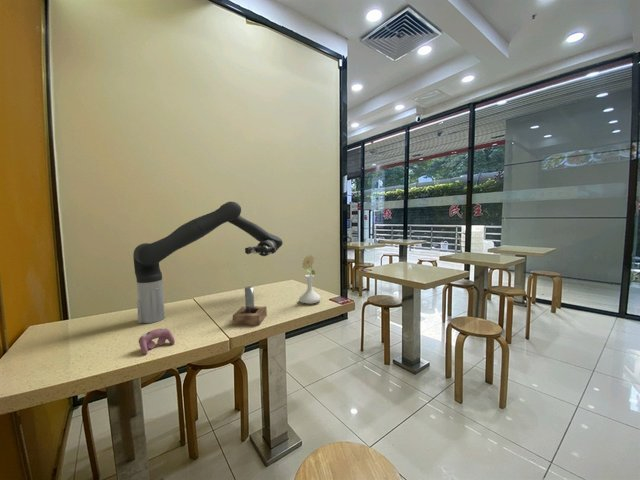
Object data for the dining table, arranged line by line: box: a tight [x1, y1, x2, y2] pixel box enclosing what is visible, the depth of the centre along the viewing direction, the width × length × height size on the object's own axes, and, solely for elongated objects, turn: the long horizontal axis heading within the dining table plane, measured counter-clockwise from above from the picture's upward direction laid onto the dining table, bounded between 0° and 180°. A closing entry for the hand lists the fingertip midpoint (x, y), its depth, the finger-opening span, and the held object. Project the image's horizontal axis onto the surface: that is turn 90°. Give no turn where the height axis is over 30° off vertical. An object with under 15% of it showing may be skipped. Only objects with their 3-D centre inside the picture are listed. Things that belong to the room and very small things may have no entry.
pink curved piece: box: [138, 327, 176, 355], centre depth 88 cm, size 10×5×7 cm, turn 142°
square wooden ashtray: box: [232, 305, 268, 326], centre depth 111 cm, size 11×11×4 cm
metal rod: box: [244, 286, 255, 313], centre depth 111 cm, size 4×4×14 cm
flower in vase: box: [298, 254, 322, 305], centre depth 132 cm, size 13×11×25 cm
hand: (256, 251), depth 120 cm, fingers open, 8 cm apart
